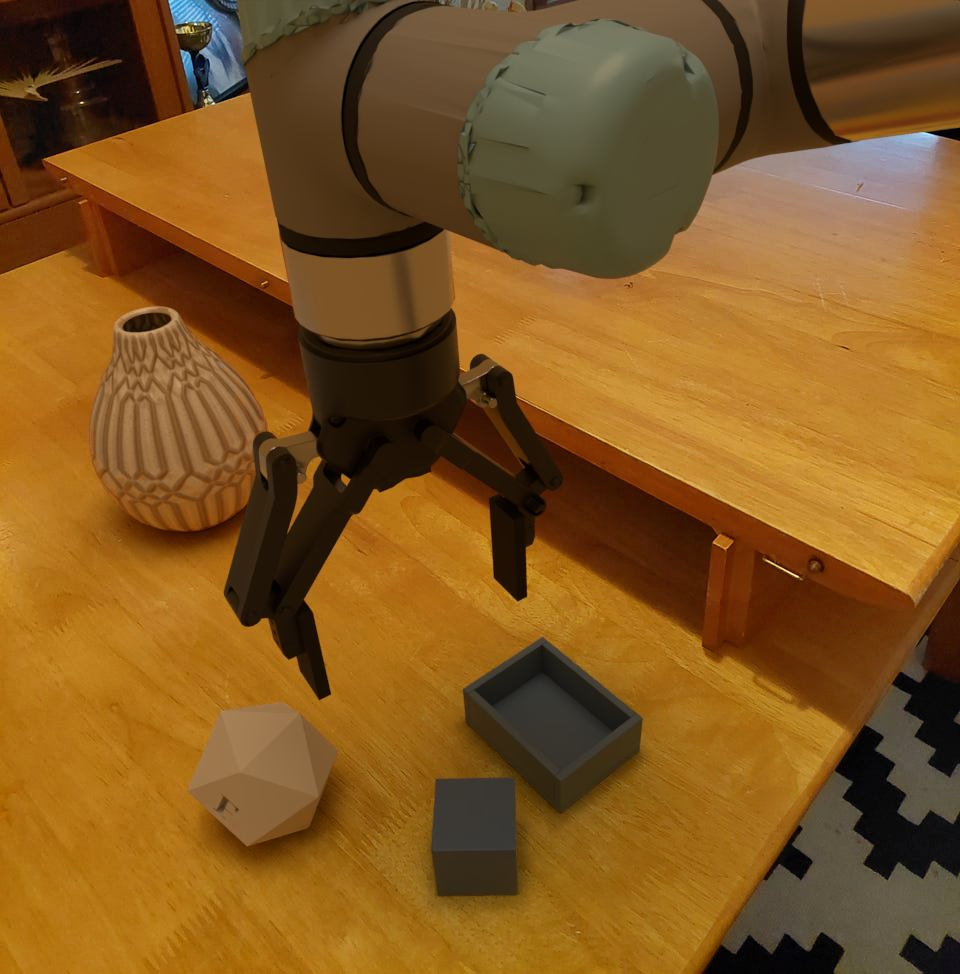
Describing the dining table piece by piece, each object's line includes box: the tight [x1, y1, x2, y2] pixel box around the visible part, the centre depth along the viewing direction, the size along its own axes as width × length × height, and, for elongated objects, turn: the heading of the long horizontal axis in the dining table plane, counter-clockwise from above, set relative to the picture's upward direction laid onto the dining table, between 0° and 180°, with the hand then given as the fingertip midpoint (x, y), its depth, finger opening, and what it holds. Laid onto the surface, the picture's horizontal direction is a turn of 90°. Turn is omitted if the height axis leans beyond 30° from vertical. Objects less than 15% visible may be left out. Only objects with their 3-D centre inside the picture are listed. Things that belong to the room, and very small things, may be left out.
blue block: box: [430, 777, 519, 896], centre depth 58 cm, size 5×5×5 cm
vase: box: [88, 305, 270, 533], centre depth 85 cm, size 16×16×20 cm
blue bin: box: [462, 636, 644, 814], centre depth 66 cm, size 10×8×4 cm
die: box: [186, 701, 340, 847], centre depth 61 cm, size 8×9×10 cm
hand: (417, 633), depth 56 cm, fingers open, 13 cm apart
